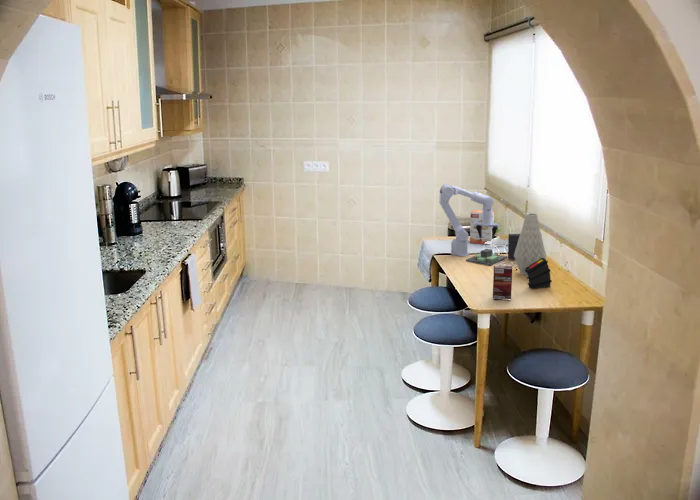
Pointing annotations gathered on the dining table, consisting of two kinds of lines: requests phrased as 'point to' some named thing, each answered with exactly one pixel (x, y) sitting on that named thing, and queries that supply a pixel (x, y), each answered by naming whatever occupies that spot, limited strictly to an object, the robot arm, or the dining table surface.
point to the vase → (529, 243)
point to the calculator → (512, 245)
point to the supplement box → (502, 282)
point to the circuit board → (486, 255)
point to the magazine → (538, 274)
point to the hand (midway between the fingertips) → (486, 238)
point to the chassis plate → (486, 262)
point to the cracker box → (486, 231)
